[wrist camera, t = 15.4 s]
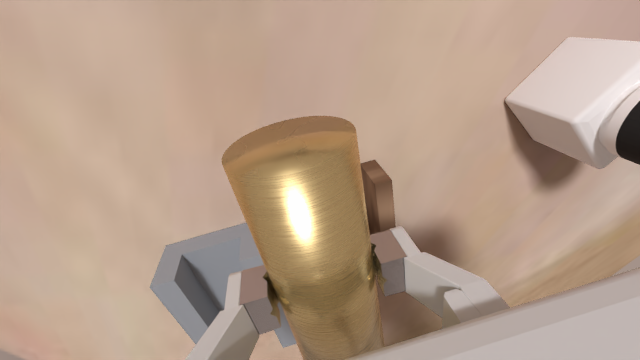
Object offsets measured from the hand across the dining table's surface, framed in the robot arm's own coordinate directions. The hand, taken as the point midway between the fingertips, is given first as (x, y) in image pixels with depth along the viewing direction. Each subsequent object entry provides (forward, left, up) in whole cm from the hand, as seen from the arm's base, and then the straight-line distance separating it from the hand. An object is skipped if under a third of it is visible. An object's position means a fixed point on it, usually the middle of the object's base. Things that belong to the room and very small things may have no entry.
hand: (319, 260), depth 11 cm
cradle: (-15, +9, -15) cm, 23 cm away
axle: (-2, 0, 0) cm, 2 cm away
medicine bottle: (-3, -26, -15) cm, 30 cm away
